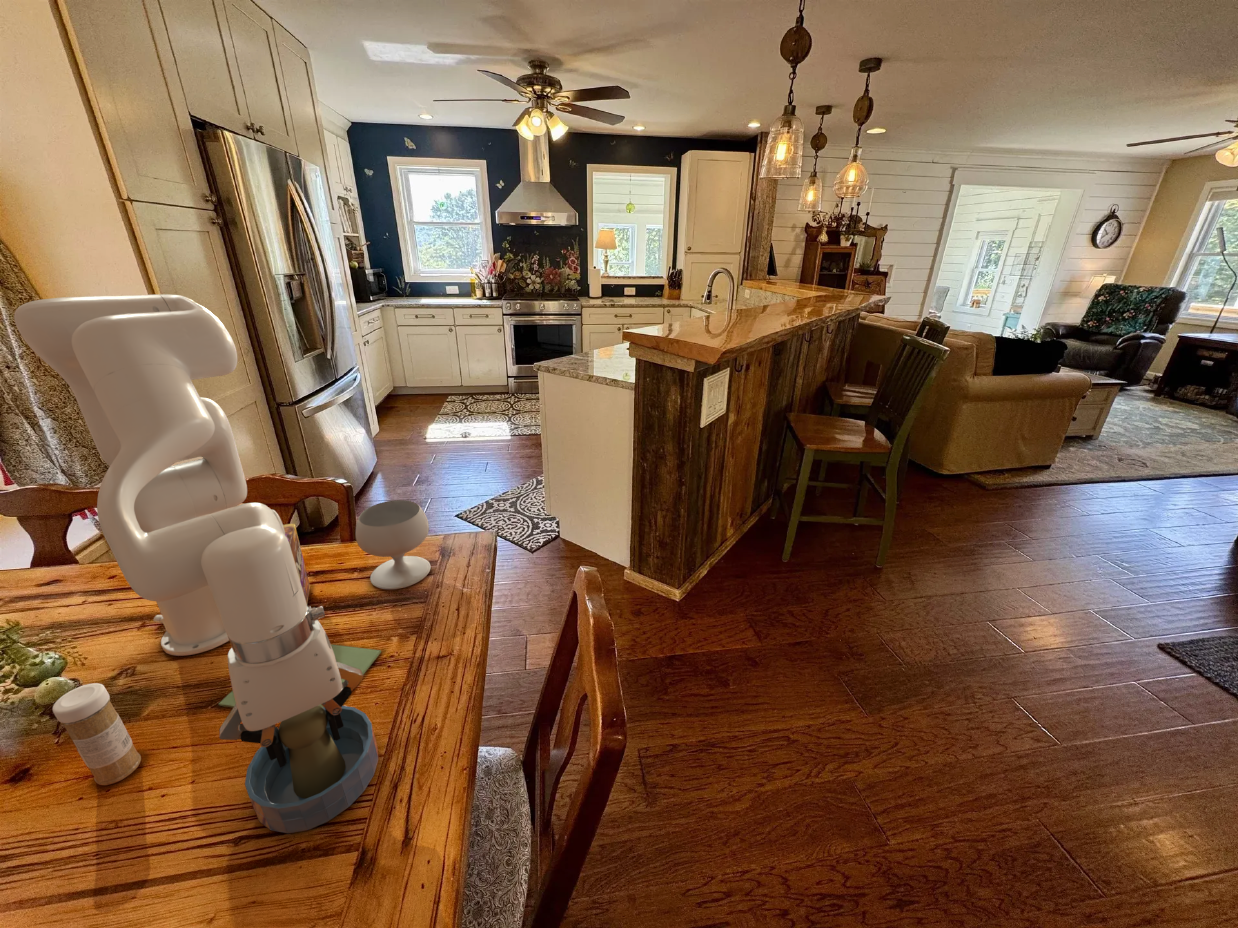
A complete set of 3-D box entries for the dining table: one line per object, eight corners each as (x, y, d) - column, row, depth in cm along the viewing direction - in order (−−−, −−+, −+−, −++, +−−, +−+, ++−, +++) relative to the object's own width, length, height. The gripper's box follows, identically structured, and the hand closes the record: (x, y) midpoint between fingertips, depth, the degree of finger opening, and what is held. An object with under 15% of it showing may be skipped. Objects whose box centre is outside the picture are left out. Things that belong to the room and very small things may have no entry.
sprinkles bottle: (110, 758, 67) (69, 685, 62) (150, 751, 68) (112, 678, 63) (86, 791, 63) (40, 715, 58) (129, 782, 64) (87, 707, 59)
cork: (322, 803, 62) (302, 741, 57) (281, 793, 63) (258, 731, 58) (355, 758, 67) (339, 699, 63) (317, 750, 68) (298, 691, 64)
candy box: (308, 612, 95) (289, 544, 89) (282, 618, 93) (261, 549, 87) (312, 586, 102) (295, 522, 96) (288, 591, 101) (268, 526, 95)
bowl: (227, 825, 60) (215, 797, 58) (309, 724, 72) (301, 699, 70) (334, 843, 58) (324, 816, 56) (398, 737, 71) (393, 712, 69)
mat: (218, 705, 75) (218, 703, 75) (287, 640, 88) (287, 638, 88) (326, 720, 73) (326, 718, 73) (381, 651, 86) (381, 650, 86)
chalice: (373, 559, 112) (360, 500, 106) (438, 552, 115) (429, 494, 109) (358, 597, 99) (343, 533, 93) (431, 588, 102) (421, 525, 96)
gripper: (349, 588, 63) (374, 692, 70) (176, 645, 54) (225, 759, 61) (362, 620, 58) (388, 730, 65) (172, 690, 48) (226, 810, 55)
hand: (309, 743), depth 63 cm, fingers closed on cork, 5 cm apart
